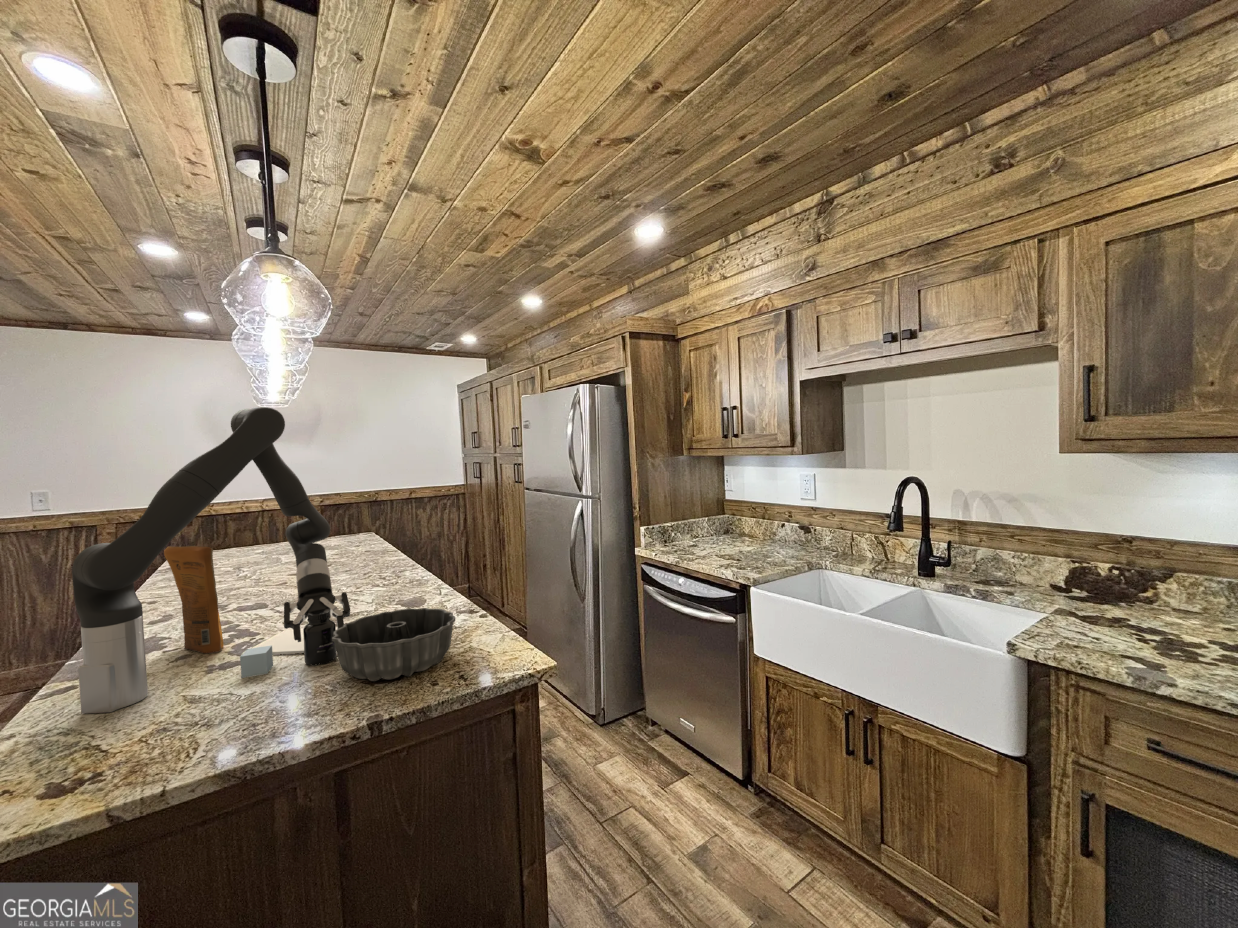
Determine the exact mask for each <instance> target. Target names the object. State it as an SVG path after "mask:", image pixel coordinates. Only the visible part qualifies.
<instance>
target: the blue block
mask: <svg viewBox="0 0 1238 928" xmlns="http://www.w3.org/2000/svg"><path fill="white" fill-rule="evenodd" d="M250 648H251V649H250ZM250 648H247V649H246V650H245V651H243V652H244V653H243V652H242V653H243V654H241V655H240V656H239V657H240V658H239V659H240V660H239V663H240V675H241V677H240V678H241V679H243V678H249V677H255V676H261V675H267V674H268V673H269V672H270V671H269V670H271V669H272V668H273V667H274V659H273V658H274V657H273V656H274V655H273V653H272V646H265V647H258V648H252V647H250ZM272 666H273V667H272Z"/></svg>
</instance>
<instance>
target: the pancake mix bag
mask: <svg viewBox="0 0 1238 928" xmlns="http://www.w3.org/2000/svg"><path fill="white" fill-rule="evenodd" d="M213 552H214V548H211V547H209V546H204V545H202V546H201V545H186V546H173V545H172V546H170V545H167V547H166V548H164V549H163V555H164V558H165V559H166V562H167V563H168V565H169V567H170V570H171V573H172V575H173V578H174V582H175V585H176V587H177V591H178V593H179V597H180V601H181V611H182V612H181V614H182V623H183V624H182V625H183V633H184V637H183V639H184V649H186V650H190V651H194V652H198V653H200V654H212V653H218V652H222V651H223V649H224V648H225V647H224V643H225V642H224V639H223V638H224V637H223V630H222V624H221V623H222V622H221V619H220V617H221V616H220V611H219V597H218V593H217V592H218V591H217V583H216V576H215V567H214V556H213V555H214V553H213Z"/></svg>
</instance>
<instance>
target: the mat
mask: <svg viewBox="0 0 1238 928" xmlns="http://www.w3.org/2000/svg"><path fill="white" fill-rule="evenodd" d="M303 629H304V627H303V628H302V627H300V631H301V642H298V640H294V633H293V629H292V628H288V629H284V630H283V631H282V630H281V631H280V632H278V633H276V634H275V635H273V636H271V637H268V639H266V640H264V641H262V642H259V643H258V644H256V645H255V646H253V647H250V648H249V649H251V648H258V647H265V646H272V653H273V656H284V655H283V654H286V655H296V654H295V653H304V635H303ZM336 630H337V626H336ZM244 652H245V651H243V652H241V653H240V654H241V655H242V654H243V653H244ZM291 653H292V654H291ZM280 654H282V655H280Z"/></svg>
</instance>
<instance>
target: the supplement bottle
mask: <svg viewBox="0 0 1238 928" xmlns="http://www.w3.org/2000/svg"><path fill="white" fill-rule="evenodd" d="M331 618H332V617H331V615H330V610H329V609H321V610H315V611H312V612H309V613H308V617H307V618H306V620H307V623H306V624H305V626H304V627H303V628H304V629H303V635H304V654H303V655H304V657H303V658H304V663H305V665H307V666H319V665H325V664H328V663H330V662H333V661H334V660H335V659H336V658H337V657H338V655H337V651H336V646H335V642H334V641H332V637H334V636H333V633H334V631H335V630H336V627H337V625H336V622H335V621H333V620H332V619H331Z"/></svg>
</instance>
